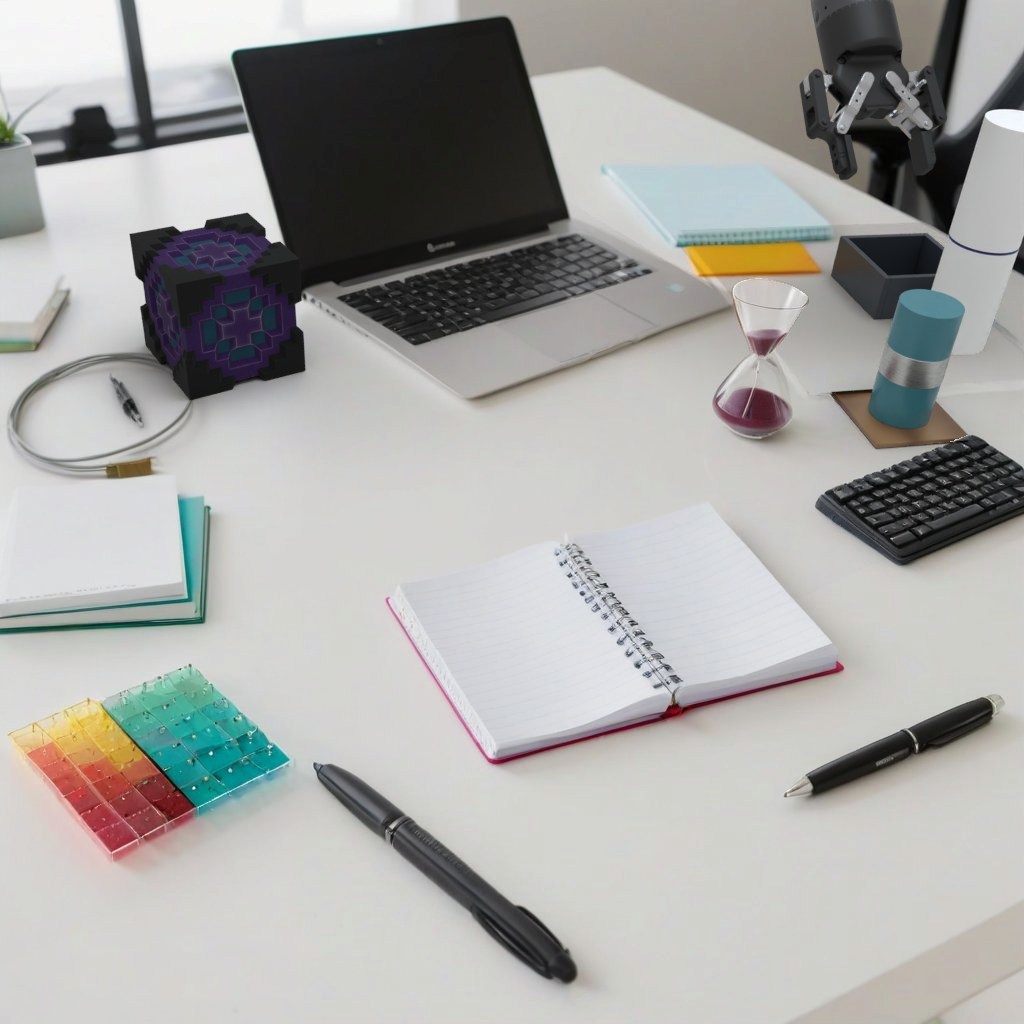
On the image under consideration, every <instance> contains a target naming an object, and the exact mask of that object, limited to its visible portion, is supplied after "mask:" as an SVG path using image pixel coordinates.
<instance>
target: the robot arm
mask: <svg viewBox="0 0 1024 1024" xmlns="http://www.w3.org/2000/svg"><path fill="white" fill-rule="evenodd" d="M810 7H811V14H812V18H813V23H814V28H815V33H816V38H817V44H818V48H819V53H820V57H821V63H822V67H823V70H821V69H819V68H814V69H813V70H812V71H811V72H809V73H808V75H806V77H805V78H804V79H803V80H802V81H801V82H800V83H799V86H798V87H799V93H800V100H801V105H802V107H801V108H802V114H803V120H804V127H805V133H806V137H807V138H808V139H810V140H816V139H819V140H822V141H824V143H825V144H827V146H828V149H829V150H828V151H829V154H830V159H831V165H832V169H833V170H832V171H834V173H835V175H838V178H839V180H840V181H847V180H850V179H851V178H852V177H854V176H855V175H856V174H857V173H858V162H857V158H856V153H855V148H854V144H853V139H852V135H851V134H847V133H848V131H849V129H850V127H851V126H852V123H853V121H854V120H855V121H864V120H866V119H874V120H884V119H886V121H888V123H889V124H890V125H891V126H893V127H898V128H899V129H900V130H901V131H902V132H903V133H904V135H906V136H907V137H908V139H909V140H908V141H907V144H908V145H907V146H908V148H909V149H908V150H909V154H910V160H911V163H912V169H913V173H914V175H915V176H924V175H926V174H928V173H930V172H931V171H932V170H933V169H934V167H935V164H936V162H937V156H936V150H935V146H934V142H933V137H932V132H934V131H935V130H936V129H938V127H940V126H942V125H943V124H944V123H946V122H947V120H948V116H947V112H946V109H945V104H944V101H943V97H942V94H941V90H940V86H939V82H938V79H937V74H936V72H935V71H936V70H935V69H934V67H933V66H931V65H925V66H924V67H922V69H920V70H914V71H908V70H907V68H906V67H905V66H904V64H903V61H902V55H903V40H902V36H901V30H900V27H899V26H900V25H899V23H898V18H897V13H896V8H895V3H894V0H810ZM823 71H824V73H823ZM828 93H829V94H830V95H831V96H832V98H833V99H834V100H835V101H836V103H837V106H836V107H835V110H834V111H833V114H832V115H831V118H830V110H829V103H828V98H827V97H828V96H827V94H828ZM900 104H902V105H903V107H904V108H903V109H902V110H898V109H897V108H898V107H899V105H900Z"/></svg>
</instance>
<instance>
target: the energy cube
mask: <svg viewBox="0 0 1024 1024" xmlns="http://www.w3.org/2000/svg"><path fill="white" fill-rule="evenodd" d="M266 232H267V231H266V228H265V227H264V225H262V224H261V223H260V222H259V221H258V220H257V219H255V218H254V217H253V216H252V214H250V213H249V212H243V213H237V214H231V215H227V216H221V217H215V218H210V219H206V220H205V222H204V226H203V227H199V228H194V229H193V228H192V229H187V230H181V231H180V230H179V229H178V228H177V227H175V226H174V225H171V226H165V227H160V228H155V229H148V230H143V231H138V232H132V233H129V240H130V248H131V254H132V260H133V268H134V275H135V277H136V278H137V279H138V280H140V281H141V282H142V287H143V292H144V293H143V295H144V301H145V303H144V304H142V305H141V306H139V309H140V316H141V322H142V329H143V335H144V344H145V347H147V349H148V350H149V352H151V353H152V355H153V356H154V358H155V359H156V360H157V361H158V362H159V364H160V365H163V364H167V363H168V365H170V367H171V368H172V373H171V374H172V380H173V381H174V382H175V383H176V385H177V386H178V387H179V388H180V390H181V391H182V392H183V393H184V395H185V396H186V397H187V398H188V400H189V401H193V400H195V399H200V398H203V397H207V396H212V395H216V394H219V393H222V392H223V393H224V392H227V391H230V390H233V389H234V388H235V387H234V386H235V384H236V382H238V381H242V380H246V379H251V378H254V377H258V376H259V378H261V379H262V380H263V381H264V382H266V381H270V380H273V379H277V378H282V377H285V376H290V375H293V374H297V373H301V372H306V353H305V351H306V350H305V333H304V330H302V329H301V328H300V327H299V326H297V324H298V323H297V310H296V308H297V307H296V305H297V304H298V303H300V302H302V300H303V297H302V278H301V277H302V276H301V259H300V258H299V257H298V256H297V254H295V253H294V252H293V251H291V249H290V248H289V247H287V246H286V245H285V244H283V243H282V242H281V241H275V242H271V241H270V240H269V239H268V238H267V233H266Z"/></svg>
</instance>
